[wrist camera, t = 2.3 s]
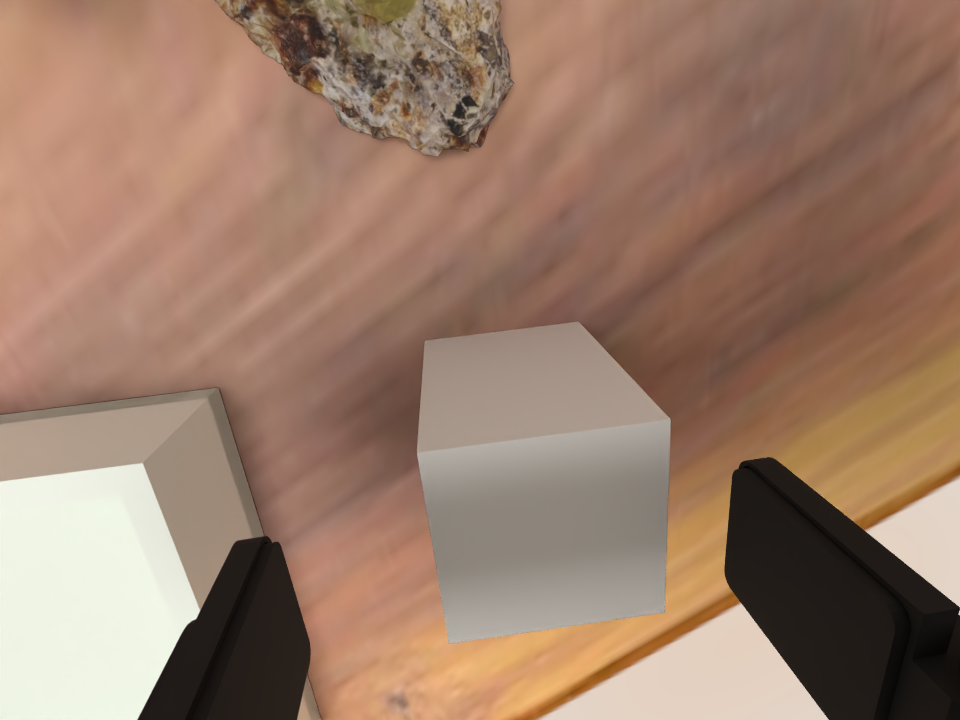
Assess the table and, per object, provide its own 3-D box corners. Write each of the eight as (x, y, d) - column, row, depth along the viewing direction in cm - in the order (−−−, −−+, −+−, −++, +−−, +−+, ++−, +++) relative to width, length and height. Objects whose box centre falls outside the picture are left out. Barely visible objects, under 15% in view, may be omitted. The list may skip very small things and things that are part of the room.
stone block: (578, 321, 17) (670, 419, 10) (583, 455, 18) (664, 612, 12) (424, 340, 16) (416, 452, 10) (444, 473, 18) (449, 643, 12)
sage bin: (218, 387, 16) (142, 463, 12) (321, 721, 22) (294, 853, 18) (-298, 452, 16) (-565, 555, 11) (-57, 779, 21) (-179, 929, 17)
